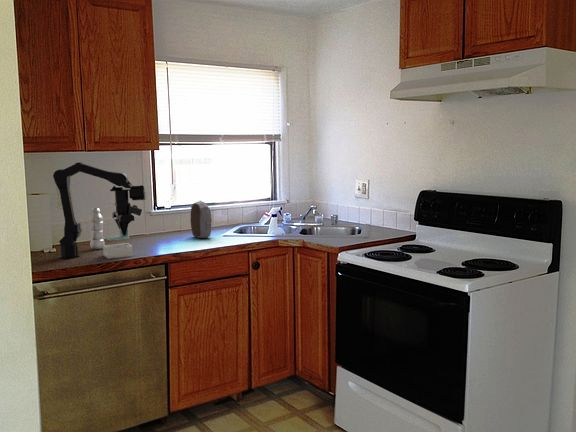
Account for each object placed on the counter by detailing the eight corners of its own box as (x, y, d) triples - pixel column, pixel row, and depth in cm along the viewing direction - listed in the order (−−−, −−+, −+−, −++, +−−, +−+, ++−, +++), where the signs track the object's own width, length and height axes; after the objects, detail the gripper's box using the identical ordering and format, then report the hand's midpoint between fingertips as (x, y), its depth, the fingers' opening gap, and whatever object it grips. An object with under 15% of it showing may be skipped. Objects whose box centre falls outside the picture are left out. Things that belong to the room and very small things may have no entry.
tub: (107, 258, 245) (107, 248, 245) (103, 255, 253) (103, 245, 253) (132, 255, 251) (132, 245, 250) (128, 252, 258) (127, 243, 258)
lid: (108, 240, 246) (108, 231, 245) (105, 238, 252) (105, 229, 251) (129, 238, 250) (129, 229, 249) (126, 236, 256) (125, 227, 256)
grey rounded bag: (189, 236, 303) (188, 200, 300) (203, 235, 308) (201, 199, 305) (202, 240, 291) (201, 202, 288) (216, 238, 296) (215, 201, 293)
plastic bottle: (88, 249, 269) (85, 208, 267) (101, 247, 274) (99, 207, 271) (94, 251, 265) (91, 209, 262) (107, 249, 269) (105, 208, 267)
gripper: (145, 201, 246) (146, 236, 248) (135, 198, 262) (136, 230, 264) (119, 202, 241) (121, 238, 243) (110, 199, 257) (112, 233, 259)
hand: (123, 235), depth 252 cm, fingers closed on lid, 3 cm apart
